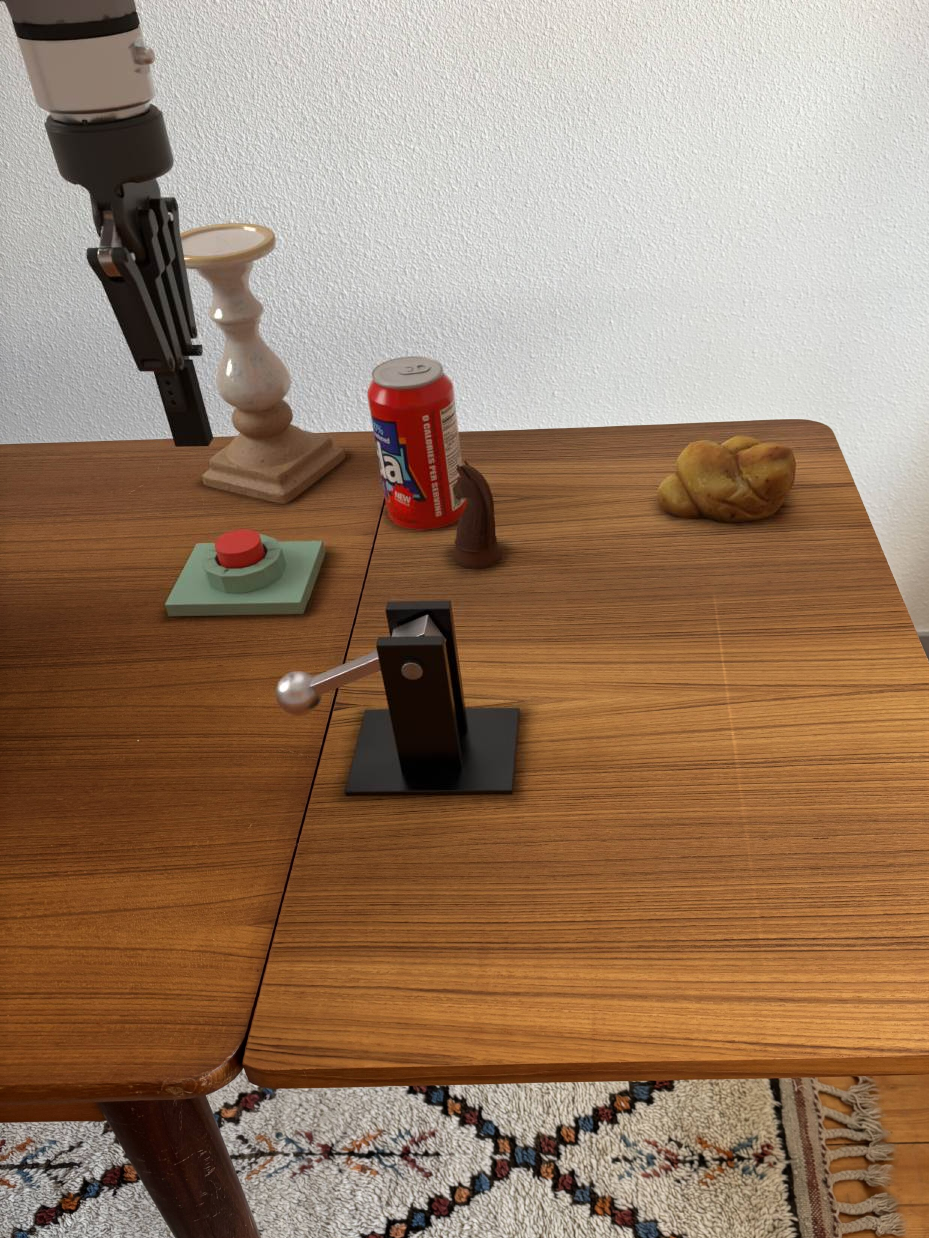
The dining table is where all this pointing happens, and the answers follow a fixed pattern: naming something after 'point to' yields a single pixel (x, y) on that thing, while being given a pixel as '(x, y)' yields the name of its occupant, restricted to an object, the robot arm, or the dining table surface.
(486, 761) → the lever stand
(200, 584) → the button block
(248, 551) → the button
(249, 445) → the candle holder
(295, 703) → the silver lever handle
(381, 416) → the soda can
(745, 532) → the dining table surface
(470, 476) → the chess piece
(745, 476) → the bread roll
